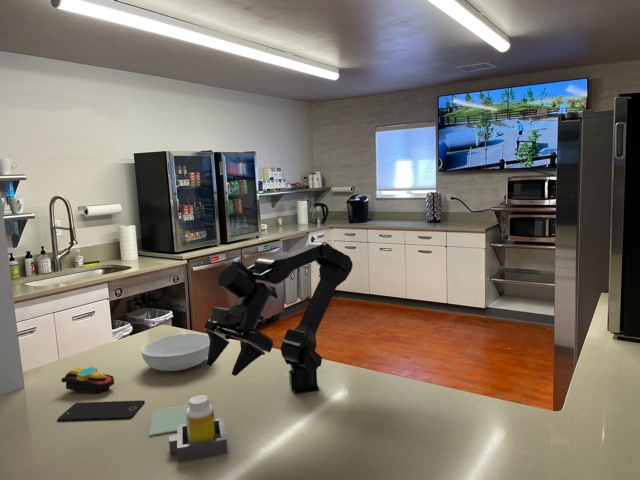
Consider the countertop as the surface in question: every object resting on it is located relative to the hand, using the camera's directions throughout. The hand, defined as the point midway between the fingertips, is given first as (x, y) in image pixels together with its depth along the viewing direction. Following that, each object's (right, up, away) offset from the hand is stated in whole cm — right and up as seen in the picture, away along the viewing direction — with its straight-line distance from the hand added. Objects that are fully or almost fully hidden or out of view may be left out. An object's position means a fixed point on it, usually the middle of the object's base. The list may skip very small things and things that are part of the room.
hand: (220, 370), depth 107 cm
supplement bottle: (-3, -14, -6) cm, 16 cm away
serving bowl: (-21, -10, +41) cm, 47 cm away
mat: (-11, -13, +6) cm, 18 cm away
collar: (-3, -14, -6) cm, 16 cm away
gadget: (-40, -13, +25) cm, 49 cm away
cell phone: (-32, -14, +12) cm, 36 cm away
